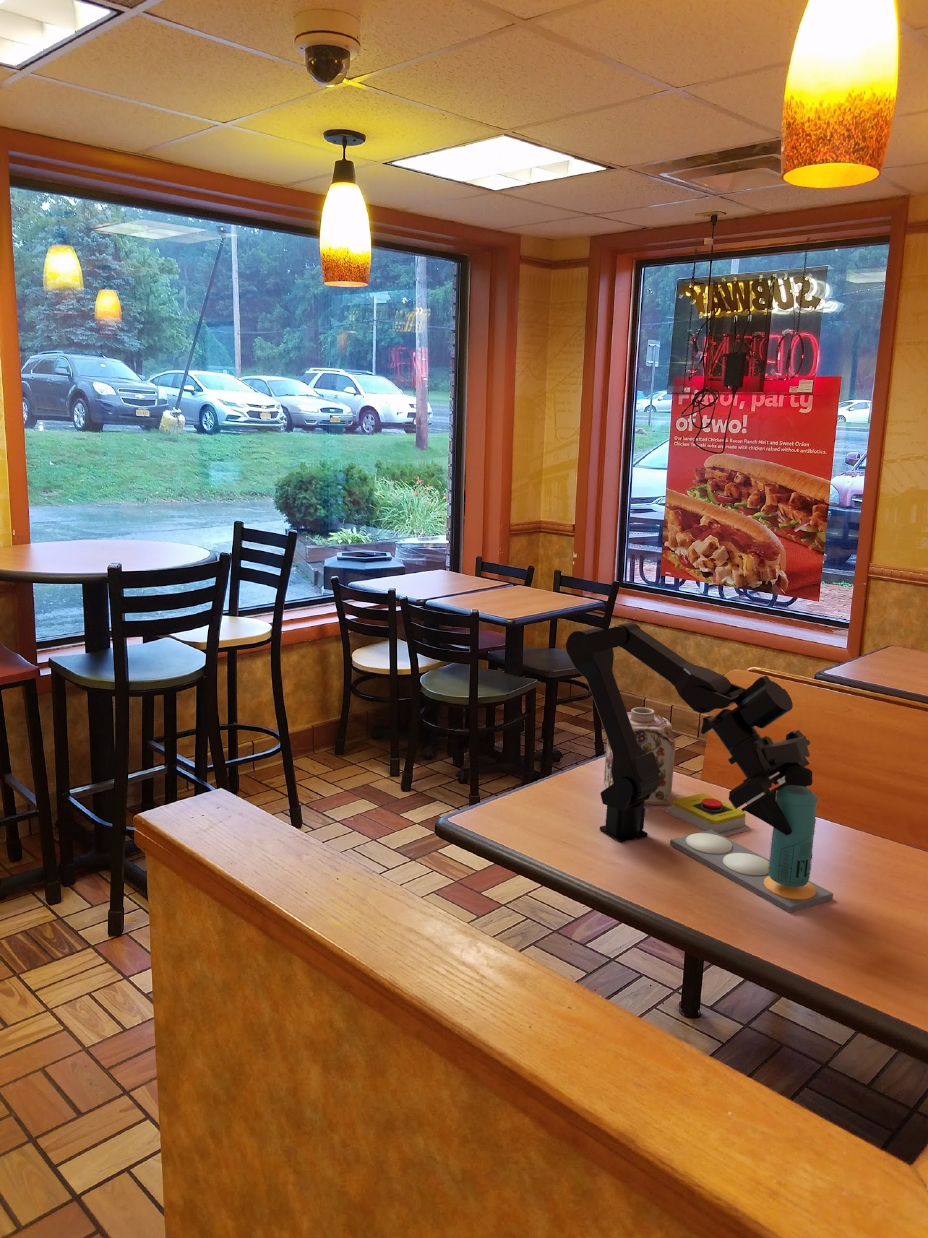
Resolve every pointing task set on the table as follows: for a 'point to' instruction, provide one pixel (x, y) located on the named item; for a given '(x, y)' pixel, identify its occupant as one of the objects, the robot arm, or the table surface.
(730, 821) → the emergency button
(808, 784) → the beverage bottle
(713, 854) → the panel
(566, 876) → the table surface
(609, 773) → the decorative jar
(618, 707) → the robot arm
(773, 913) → the table surface
